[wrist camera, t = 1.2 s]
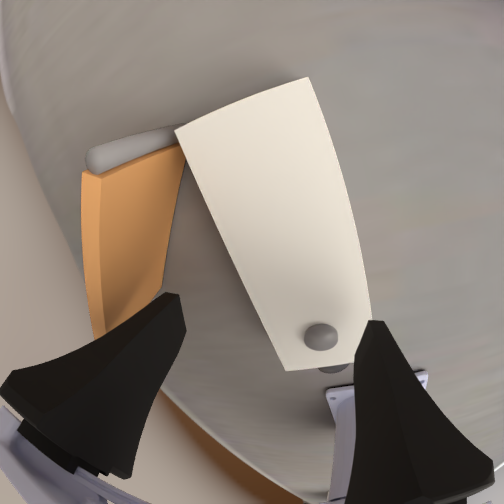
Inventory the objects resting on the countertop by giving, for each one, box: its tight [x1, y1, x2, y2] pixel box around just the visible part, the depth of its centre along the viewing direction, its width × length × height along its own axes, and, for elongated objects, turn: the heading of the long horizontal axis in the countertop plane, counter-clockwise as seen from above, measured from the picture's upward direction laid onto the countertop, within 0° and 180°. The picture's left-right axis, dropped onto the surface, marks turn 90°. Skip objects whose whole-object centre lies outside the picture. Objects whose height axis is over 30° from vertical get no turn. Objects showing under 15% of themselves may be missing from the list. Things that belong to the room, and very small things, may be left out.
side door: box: [81, 123, 186, 340], centre depth 11 cm, size 10×1×6 cm, turn 161°
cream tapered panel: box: [174, 77, 372, 373], centre depth 12 cm, size 14×5×3 cm, turn 21°
